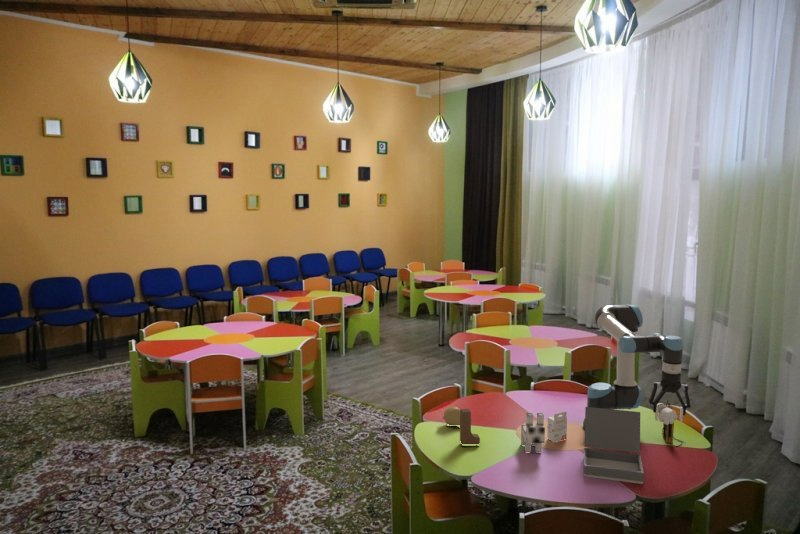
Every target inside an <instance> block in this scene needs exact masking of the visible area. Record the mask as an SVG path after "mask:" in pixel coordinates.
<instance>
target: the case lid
mask: <svg viewBox="0 0 800 534" xmlns="http://www.w3.org/2000/svg"><path fill="white" fill-rule="evenodd" d="M584 408H585V409H584V411H585V412H584V413H585V414H584V415H585V417H584V419H585V429H584V440H583V441H584V443H583V444H584V445H583V446H584V448H593V449H602V450H610V451H619V452H627V453H636V454H640V453H641V411H633V410H625V409H603V408H593V407H587V406H585V407H584Z"/></svg>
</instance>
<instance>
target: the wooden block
mask: <svg viewBox="0 0 800 534" xmlns="http://www.w3.org/2000/svg"><path fill="white" fill-rule="evenodd" d="M459 409H460V428H459V442H460V441H461V443H462V444H479V443H480V444H481V439H480V436H479V434H478V433H473V432H472V430H471V429H472V411H471V410H470V409H469V408H459Z"/></svg>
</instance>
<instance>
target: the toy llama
mask: <svg viewBox="0 0 800 534" xmlns="http://www.w3.org/2000/svg"><path fill="white" fill-rule="evenodd" d="M544 417H545V416H544V413H543V412H537V413H536V423H535V422H534V415H533V413H532V412H526V417H525V418H526V419H525V420H526V421H525V423H526V424H521V431H520V432H521V434H520V445H521V444H522V445H525V447H524V450H525V451H524V453H525V452H531V453H532V445H535V446H534V452H535V451H536V452H541V453H542V448H543V447H542V446H543V445H542V444H545V439H546V438H545V437H546V436H545V435H546V434H545V433H546V427H545V426H544ZM531 443H532V445H531ZM522 445H521V446H522ZM536 452H535V453H536Z"/></svg>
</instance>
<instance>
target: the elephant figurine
mask: <svg viewBox="0 0 800 534" xmlns="http://www.w3.org/2000/svg"><path fill="white" fill-rule="evenodd" d="M678 418H679V419H680V416H679V415H678V413H677V411H676V410H675V409H671V407H670V408H669V406H668V407H666V405H665V404H664V403H661V404H660V405H658V421H659V422H660V423H664V424H666V425H668V424H669V423H670V424H673V421H677V420H678Z"/></svg>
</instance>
